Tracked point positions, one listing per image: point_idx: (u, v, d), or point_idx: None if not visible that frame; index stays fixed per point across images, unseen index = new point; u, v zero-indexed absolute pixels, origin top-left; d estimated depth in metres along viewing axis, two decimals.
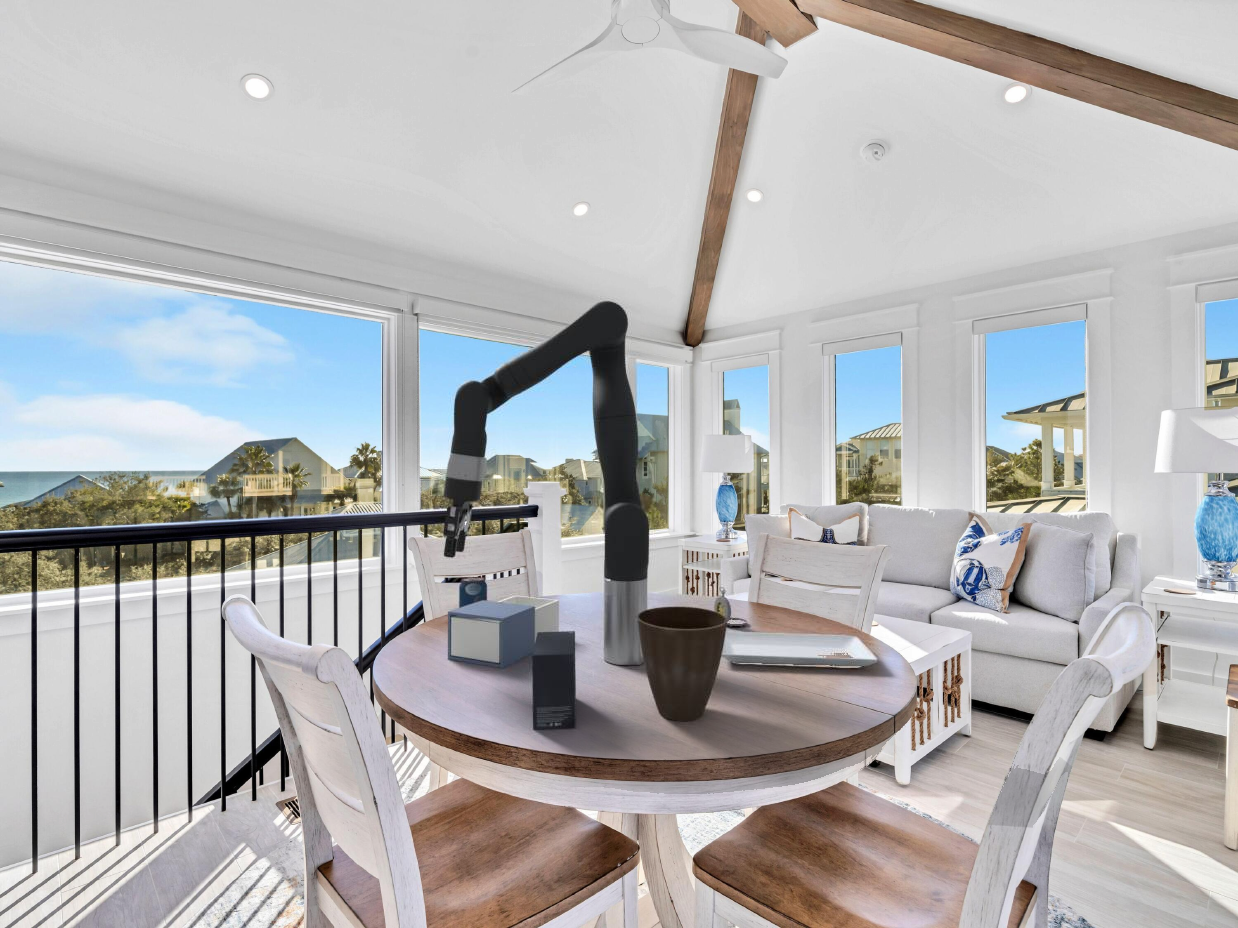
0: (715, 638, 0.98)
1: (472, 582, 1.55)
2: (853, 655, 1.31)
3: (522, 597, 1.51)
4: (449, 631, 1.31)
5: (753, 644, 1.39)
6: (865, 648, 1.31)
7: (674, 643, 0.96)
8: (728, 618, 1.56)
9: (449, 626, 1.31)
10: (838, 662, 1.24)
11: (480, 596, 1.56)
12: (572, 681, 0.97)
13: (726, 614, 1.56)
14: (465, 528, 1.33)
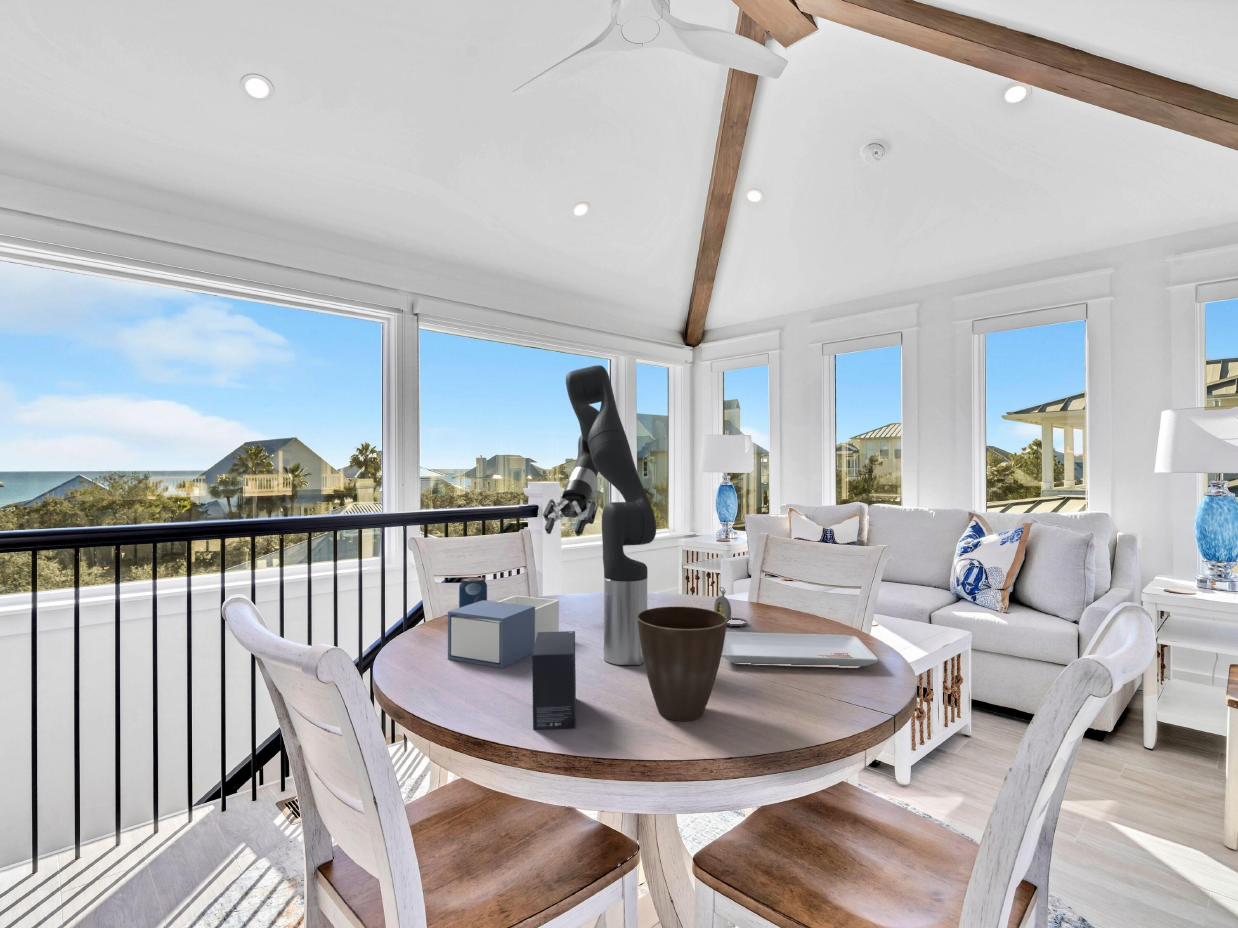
0: (715, 638, 0.98)
1: (472, 582, 1.55)
2: (853, 655, 1.31)
3: (522, 597, 1.51)
4: (449, 631, 1.31)
5: (753, 644, 1.39)
6: (865, 648, 1.31)
7: (674, 643, 0.96)
8: (728, 618, 1.56)
9: (449, 626, 1.31)
10: (838, 662, 1.24)
11: (480, 596, 1.56)
12: (572, 681, 0.97)
13: (726, 614, 1.56)
14: None
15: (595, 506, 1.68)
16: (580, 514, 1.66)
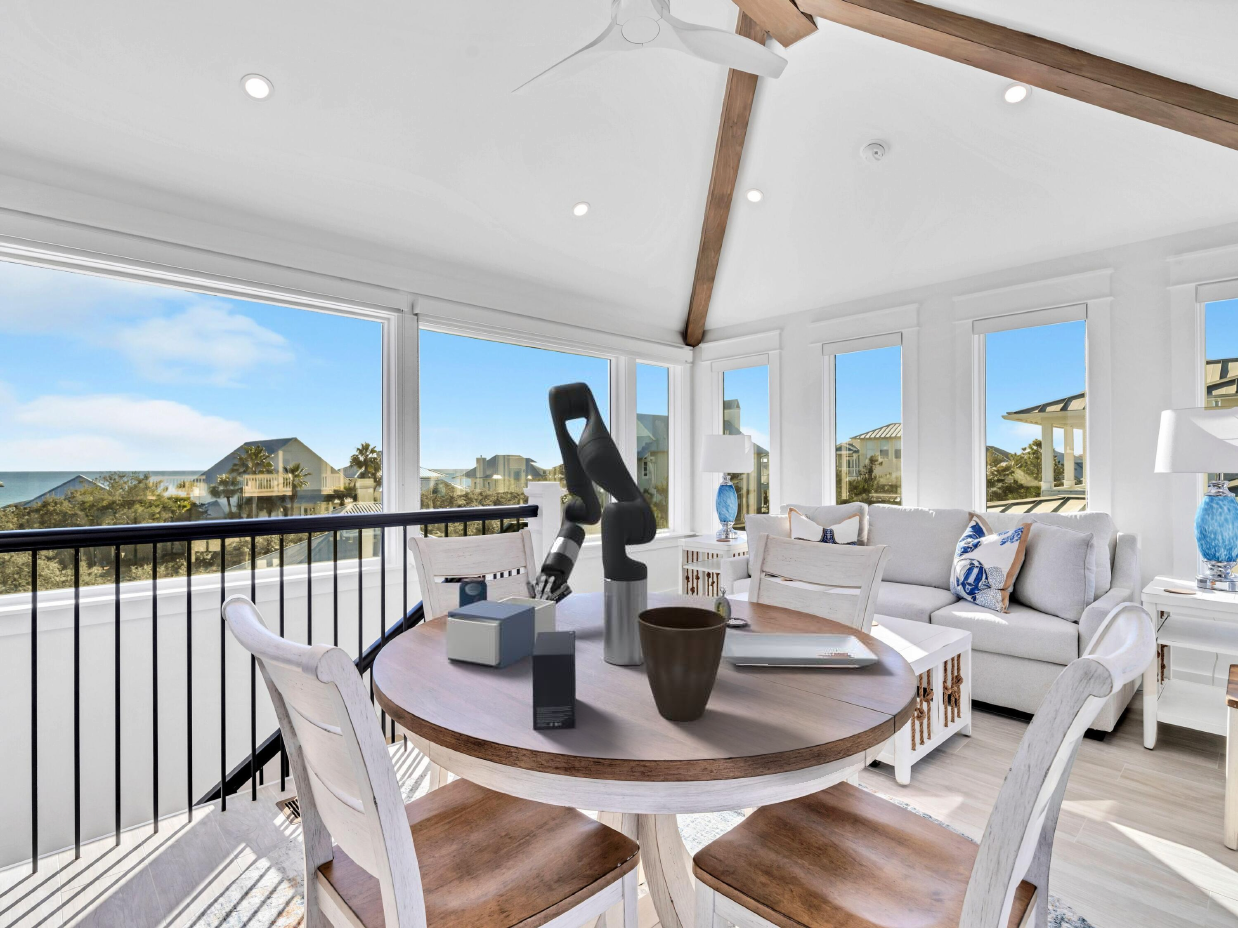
0: (715, 638, 0.98)
1: (472, 582, 1.55)
2: (852, 654, 1.32)
3: (519, 598, 1.50)
4: None
5: (752, 645, 1.38)
6: (864, 647, 1.31)
7: (674, 643, 0.96)
8: (728, 618, 1.56)
9: None
10: (840, 662, 1.25)
11: (480, 596, 1.56)
12: (572, 681, 0.97)
13: (726, 614, 1.56)
14: None
15: (566, 591, 1.52)
16: (545, 594, 1.52)
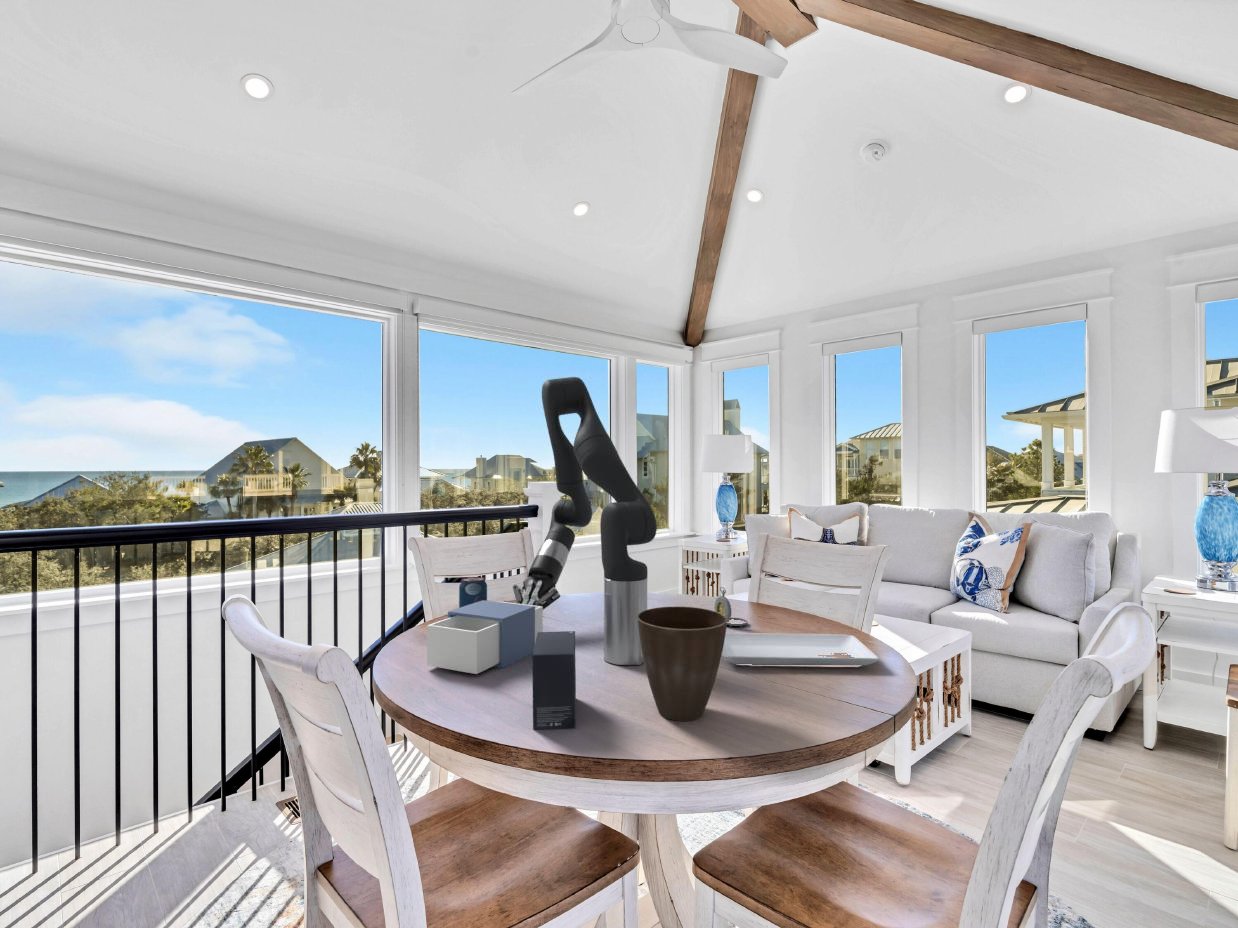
0: (715, 638, 0.98)
1: (472, 582, 1.55)
2: (852, 654, 1.32)
3: None
4: None
5: (752, 645, 1.38)
6: (864, 647, 1.31)
7: (674, 643, 0.96)
8: (728, 618, 1.56)
9: None
10: (840, 662, 1.25)
11: (480, 596, 1.56)
12: (572, 681, 0.97)
13: (726, 614, 1.56)
14: None
15: (554, 595, 1.47)
16: (532, 599, 1.47)
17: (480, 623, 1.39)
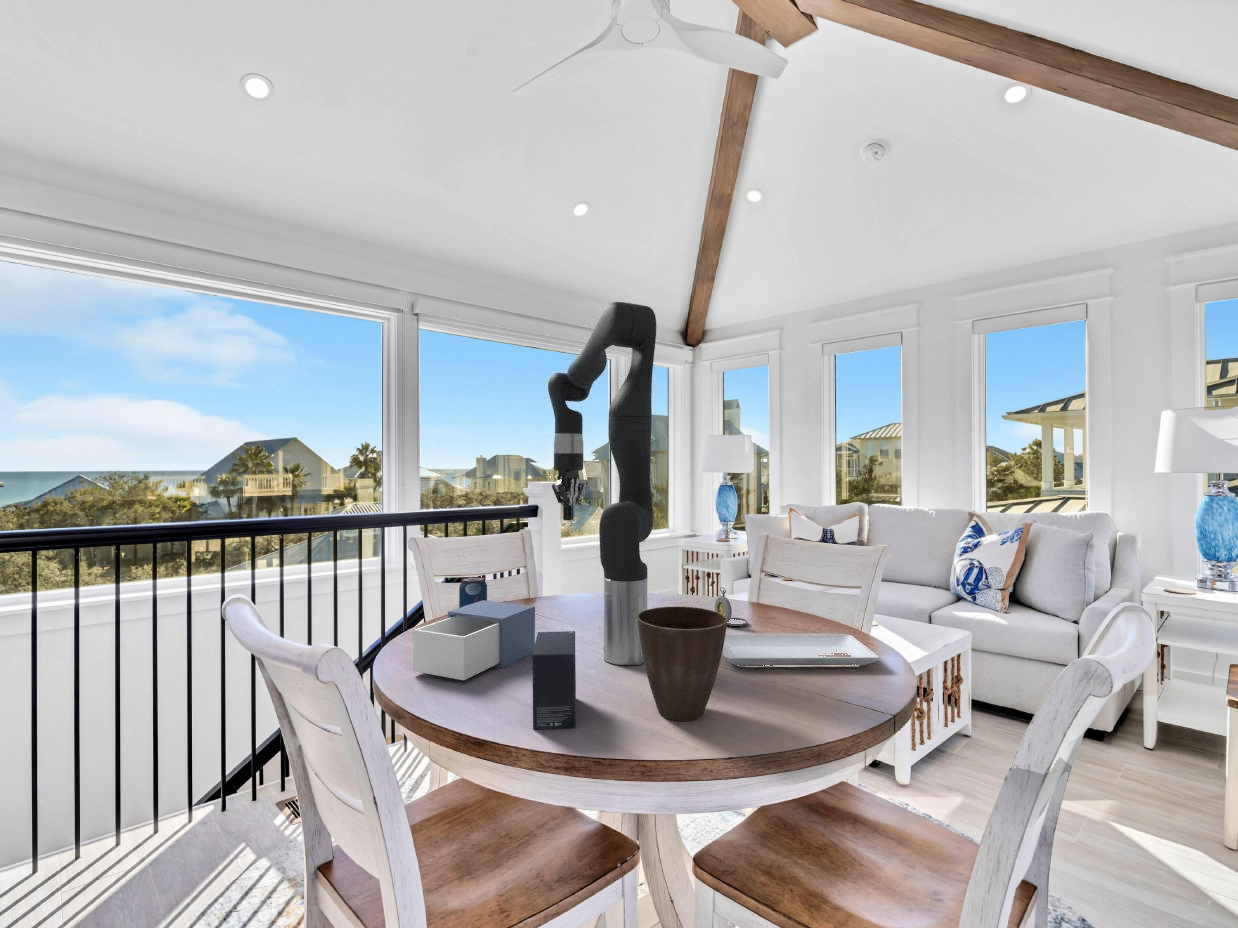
0: (715, 638, 0.98)
1: (472, 582, 1.55)
2: (851, 653, 1.32)
3: None
4: None
5: (751, 646, 1.38)
6: (863, 646, 1.32)
7: (674, 643, 0.96)
8: (729, 618, 1.56)
9: None
10: (841, 662, 1.25)
11: (480, 596, 1.56)
12: (572, 681, 0.97)
13: (727, 614, 1.56)
14: (572, 497, 1.58)
15: None
16: (574, 497, 1.58)
17: (469, 628, 1.36)
